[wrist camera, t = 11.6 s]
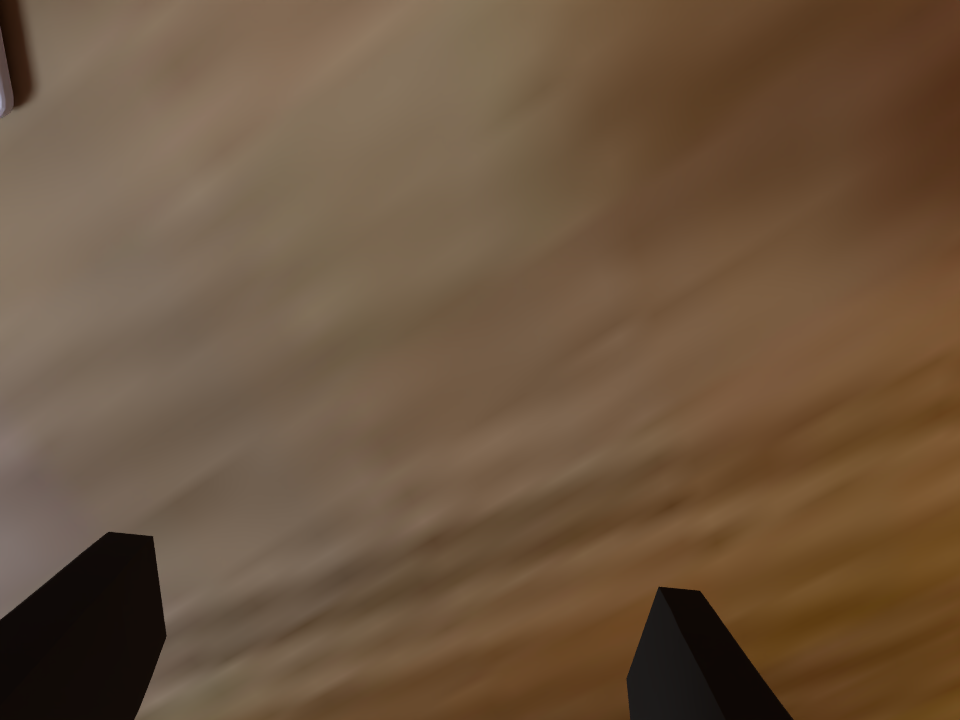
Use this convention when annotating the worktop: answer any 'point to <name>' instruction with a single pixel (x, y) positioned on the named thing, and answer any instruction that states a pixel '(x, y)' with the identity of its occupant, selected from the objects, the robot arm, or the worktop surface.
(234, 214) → the worktop surface
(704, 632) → the robot arm
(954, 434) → the worktop surface
